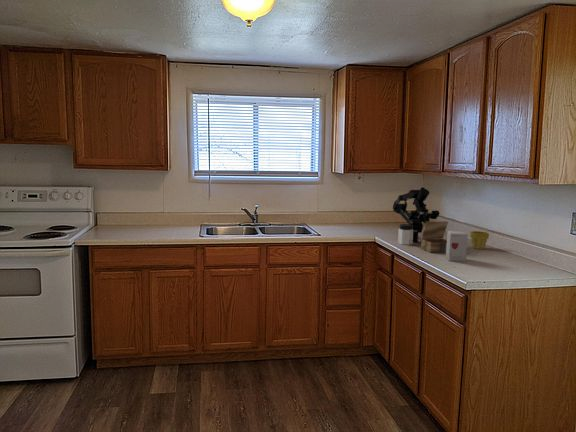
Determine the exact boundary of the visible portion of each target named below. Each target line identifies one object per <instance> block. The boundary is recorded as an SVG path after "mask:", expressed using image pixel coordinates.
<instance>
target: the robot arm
mask: <svg viewBox="0 0 576 432" xmlns="http://www.w3.org/2000/svg"><path fill="white" fill-rule="evenodd" d="M429 195H430V191H429V190H428V189H426V188H425V187H424V186H423V187H420V189H410V190H409V191H408V192H407V193H403V194H400V195H398V197H397V198H396V200H394V202H393V205H392V210H393V212H395V214H399V215H401V217H402V218H403V219H404V220H405V222H407V223H406V224H410V225H413V243H420V241H419V234H422V233H423V230H424V225H425V224H426V222H430V219H431V220H436V219H438V217H439V215H440V214H441V213H440V211H439V210H431V212H430V211H429V209H427V204H425V201H426V200H427V198H428V196H429ZM412 199H413V202H412V205H414V206H415V210H411V211H410V212H409V211H408V210H407V207H408V202H407V201H409V200H412ZM401 202H404V203H401ZM423 224H424V225H423Z"/></svg>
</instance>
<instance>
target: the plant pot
mask: <svg viewBox="0 0 576 432" xmlns="http://www.w3.org/2000/svg"><path fill="white" fill-rule="evenodd" d="M469 233H470V235H469V236H470V239H471V244H472V248H473V249H476V250H485V248H486V244H487V240H488V239H489V237H490V236H489V235H490V233H489V232H486V231H480V230H479V231H478V230H472V231H470V232H469Z"/></svg>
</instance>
